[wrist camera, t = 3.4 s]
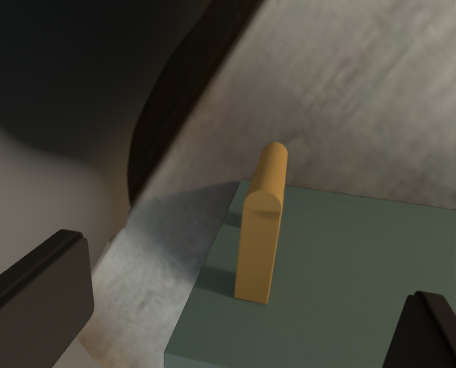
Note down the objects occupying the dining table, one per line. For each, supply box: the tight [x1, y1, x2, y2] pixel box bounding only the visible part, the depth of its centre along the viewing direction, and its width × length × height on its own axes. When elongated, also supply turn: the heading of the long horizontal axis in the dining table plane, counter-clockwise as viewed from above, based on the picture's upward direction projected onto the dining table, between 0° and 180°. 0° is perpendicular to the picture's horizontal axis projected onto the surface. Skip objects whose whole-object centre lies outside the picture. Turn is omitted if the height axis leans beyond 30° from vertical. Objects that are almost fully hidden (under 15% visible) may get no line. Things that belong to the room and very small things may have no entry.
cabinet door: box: [164, 142, 456, 368], centre depth 23 cm, size 8×26×24 cm, turn 85°
